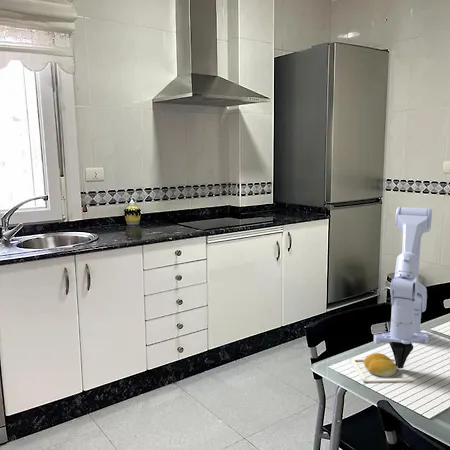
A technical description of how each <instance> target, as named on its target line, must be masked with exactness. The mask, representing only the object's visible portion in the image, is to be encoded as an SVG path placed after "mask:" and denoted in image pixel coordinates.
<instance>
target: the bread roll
mask: <svg viewBox="0 0 450 450" xmlns="http://www.w3.org/2000/svg"><path fill="white" fill-rule="evenodd" d="M364 358H365V360H364V361H363V365H364V367H365V368H366V369H367V370H368V372H369V373H370V374H371V375H374V376H377V377H384V378H388V377H391V376H394V375H395V374H396V372H397V369H398V367H397V366H396V364H395V361H391V359H390V358H391V357H389V356H387V355H386V354H383V353H381V352H380V353H377V352H376V353H375V352H374V353H371V354H370V355H368V356H366V357H364Z"/></svg>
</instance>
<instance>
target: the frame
mask: <svg viewBox="0 0 450 450" xmlns="http://www.w3.org/2000/svg"><path fill="white" fill-rule="evenodd" d="M365 358H366V357H352V358H351V357H350V358H349V361H350V363H351V365H352V366H353V367H354V369H355V371H356V372H357V374H358V376H359V377H360V379H361V381H362V382H363V384H366V383H371V384H372V383H411V382H412V380H411V379H410V378H409V377H405V378H402V377H399V378H395V377H394V378H367V377H366V376H365V375H364V372H363V371H362V370H361V368H360V367H359V364H358V363H357V362H364V360H365ZM389 358H390V359H391V361H392V362H394V358H393V357H389Z"/></svg>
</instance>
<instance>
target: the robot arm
mask: <svg viewBox="0 0 450 450" xmlns="http://www.w3.org/2000/svg"><path fill="white" fill-rule="evenodd" d="M395 211H396V212H395V219H394V222H395V226H396V228H397V230H398V231H400V232H401V233H402V249H401V250H402V251H401V253H399V254H398V255H397V257H396V262H395V267H394V269H395V270H394V274H393V275H394V277H393V278H392V279H391V281H390V282H391V283H390V305H391V310H390V311H391V313H390V314H391V315H390V316H391V317H390V328H389V331H390V332H382V333H378V334H373V342H374V343H375V345H379V344H382V343H383V344H386V343H387V344H389V346H390V348H391V350H392V355H393V357H394V358H393V359H394V363H395V364H396V367H397V369H404V366H405V363H406V362H407V359H408V357H409V355H410V354H411V352H412V351H413V350H414V345H413V343H424V344H429V339H430V338H429V337H430V336H429V335H428V334H426V333H421V321H422V320H421V319H422V313H424V312H425V311H427V310H426V309H427V299H428V293H427V292H428V290H427V287H426V286H425V285H424V284H422V283H421V282H420V281H419V271H420V259H421V257H420V255H421V242H422V237H423V234H424V233H425V234H426V233H429V232H430V230H431V229H432V220H433V219H432V218H433V217H432V216H433V209H431V207H427V208H426V207H424V208H423V207H407V206H398V207H397V208H396V210H395Z"/></svg>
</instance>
